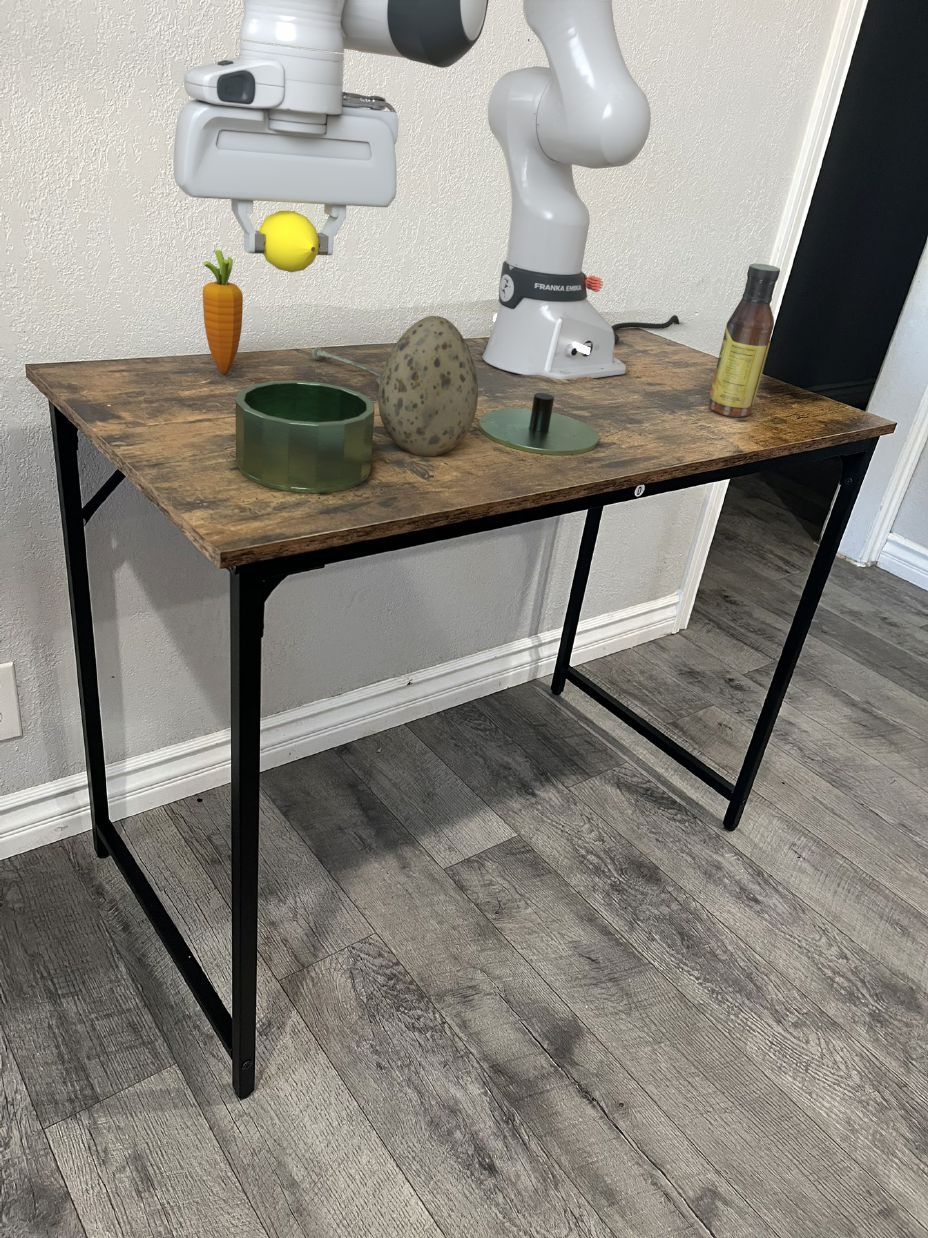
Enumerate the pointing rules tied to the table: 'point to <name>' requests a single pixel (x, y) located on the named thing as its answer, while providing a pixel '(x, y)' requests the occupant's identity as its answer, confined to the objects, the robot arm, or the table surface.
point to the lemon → (289, 241)
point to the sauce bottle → (745, 345)
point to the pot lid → (539, 429)
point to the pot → (304, 436)
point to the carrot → (222, 314)
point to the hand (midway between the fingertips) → (288, 253)
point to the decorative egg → (428, 388)
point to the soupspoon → (320, 354)
